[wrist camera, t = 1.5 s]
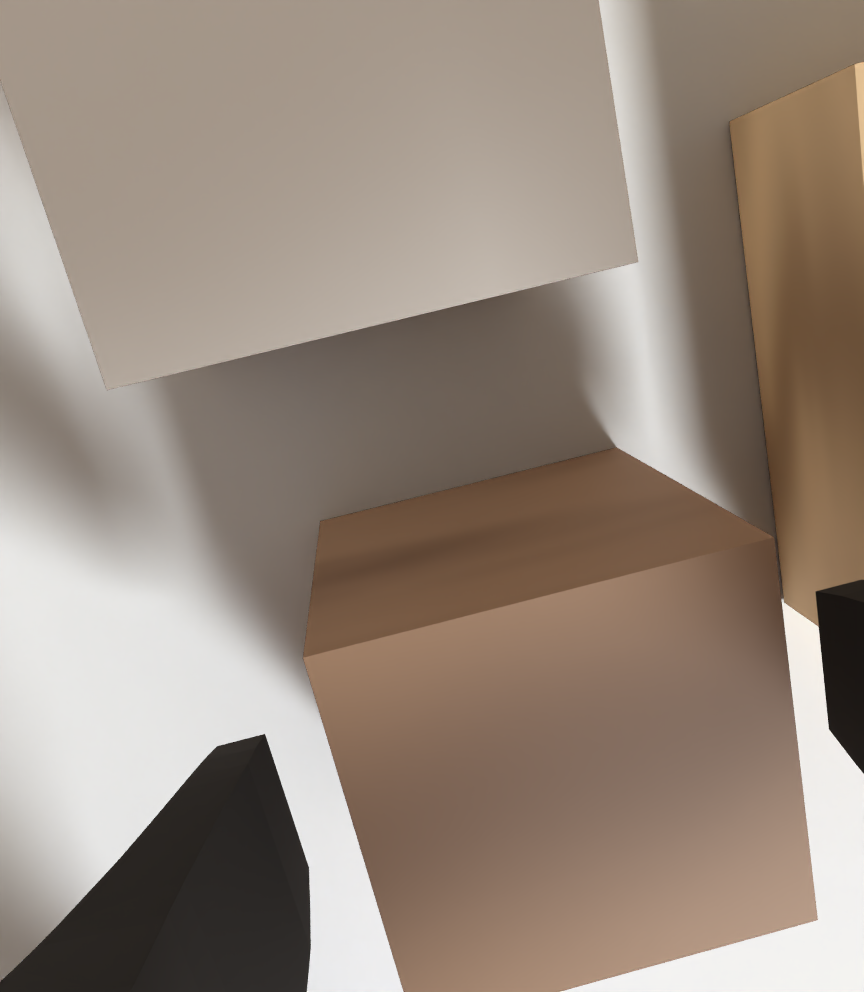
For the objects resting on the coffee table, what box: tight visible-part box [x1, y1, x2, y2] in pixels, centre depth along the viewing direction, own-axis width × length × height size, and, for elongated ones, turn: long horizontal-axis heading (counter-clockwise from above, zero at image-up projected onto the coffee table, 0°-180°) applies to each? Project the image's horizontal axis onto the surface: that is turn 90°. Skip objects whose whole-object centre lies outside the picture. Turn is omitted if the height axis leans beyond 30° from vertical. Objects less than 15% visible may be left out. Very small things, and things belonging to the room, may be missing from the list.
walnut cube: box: [303, 447, 818, 992], centre depth 11 cm, size 5×5×5 cm
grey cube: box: [0, 0, 638, 390], centre depth 9 cm, size 5×5×5 cm
